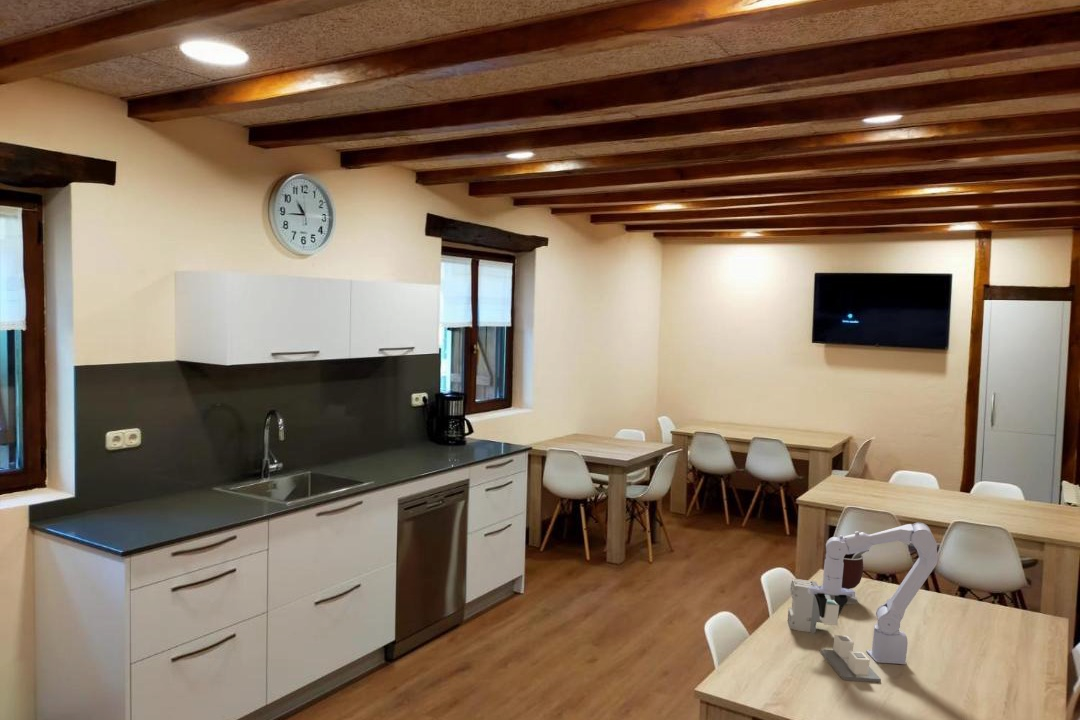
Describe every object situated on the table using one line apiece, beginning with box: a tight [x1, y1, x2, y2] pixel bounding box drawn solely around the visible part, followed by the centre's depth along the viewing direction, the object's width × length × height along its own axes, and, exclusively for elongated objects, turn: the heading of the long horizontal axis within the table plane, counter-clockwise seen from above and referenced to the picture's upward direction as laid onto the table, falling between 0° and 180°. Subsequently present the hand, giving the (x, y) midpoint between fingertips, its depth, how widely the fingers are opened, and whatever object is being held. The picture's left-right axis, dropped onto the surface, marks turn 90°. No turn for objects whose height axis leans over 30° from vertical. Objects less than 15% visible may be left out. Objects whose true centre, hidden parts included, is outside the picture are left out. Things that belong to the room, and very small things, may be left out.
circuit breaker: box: [787, 578, 831, 634], centre depth 262 cm, size 8×14×15 cm, turn 78°
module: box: [820, 600, 839, 626], centre depth 248 cm, size 4×4×7 cm
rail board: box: [820, 634, 882, 683], centre depth 235 cm, size 11×18×6 cm, turn 0°
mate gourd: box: [822, 549, 870, 605], centre depth 293 cm, size 16×14×20 cm
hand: (828, 617), depth 248 cm, fingers closed on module, 4 cm apart
